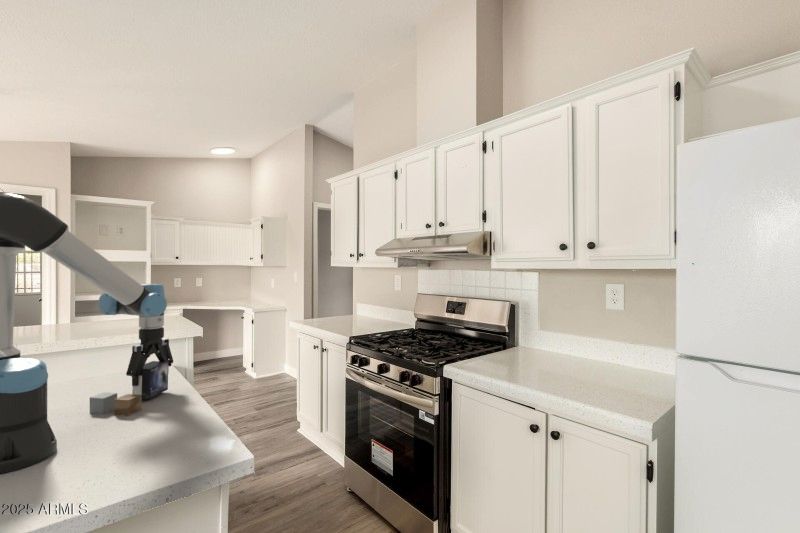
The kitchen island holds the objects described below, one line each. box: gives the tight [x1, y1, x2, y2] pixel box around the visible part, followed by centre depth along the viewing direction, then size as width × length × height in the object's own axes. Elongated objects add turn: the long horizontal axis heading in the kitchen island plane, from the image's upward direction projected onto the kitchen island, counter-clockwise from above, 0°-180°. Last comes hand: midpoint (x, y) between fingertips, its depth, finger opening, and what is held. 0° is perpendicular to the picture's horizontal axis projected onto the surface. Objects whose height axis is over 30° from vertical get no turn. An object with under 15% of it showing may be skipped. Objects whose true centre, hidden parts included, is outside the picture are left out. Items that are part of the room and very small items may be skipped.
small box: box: [131, 360, 169, 400], centre depth 138 cm, size 11×6×10 cm, turn 179°
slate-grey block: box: [89, 391, 118, 415], centre depth 125 cm, size 5×5×5 cm
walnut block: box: [113, 393, 143, 417], centre depth 123 cm, size 5×5×5 cm
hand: (151, 389), depth 138 cm, fingers closed on small box, 11 cm apart
